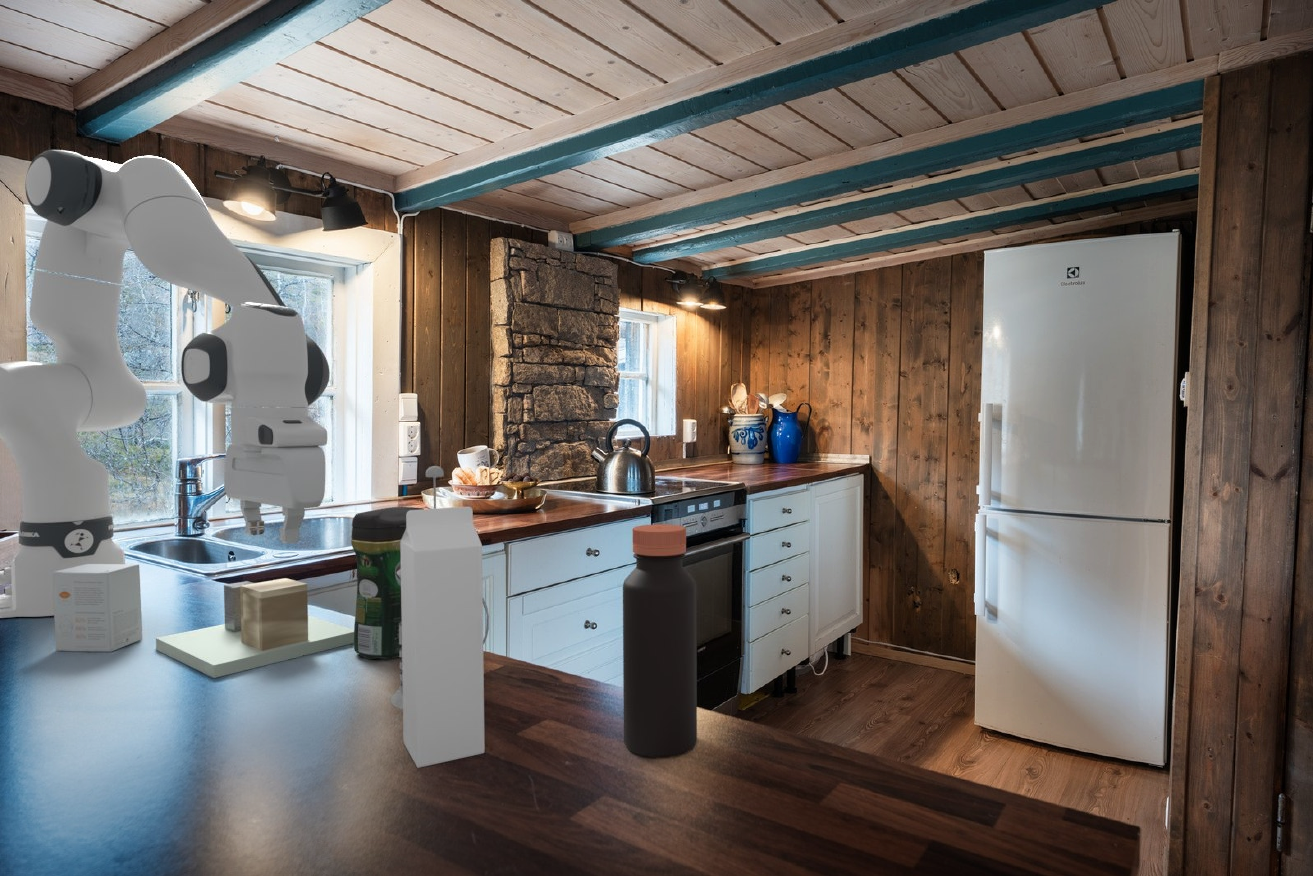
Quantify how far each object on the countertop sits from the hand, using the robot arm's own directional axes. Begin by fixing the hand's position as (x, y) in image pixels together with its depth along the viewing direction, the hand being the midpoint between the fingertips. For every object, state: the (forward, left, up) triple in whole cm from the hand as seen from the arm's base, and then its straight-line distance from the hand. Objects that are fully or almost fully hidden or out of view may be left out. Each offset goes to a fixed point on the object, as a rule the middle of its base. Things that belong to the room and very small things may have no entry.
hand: (271, 538), depth 99 cm
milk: (+41, -4, -15) cm, 44 cm away
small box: (-22, -13, -15) cm, 29 cm away
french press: (+30, +4, -15) cm, 34 cm away
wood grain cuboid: (0, 0, -13) cm, 13 cm away
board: (-5, 0, -15) cm, 16 cm away
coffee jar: (+11, +10, -15) cm, 21 cm away
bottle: (+56, +9, -15) cm, 59 cm away
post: (-10, 0, -15) cm, 18 cm away
